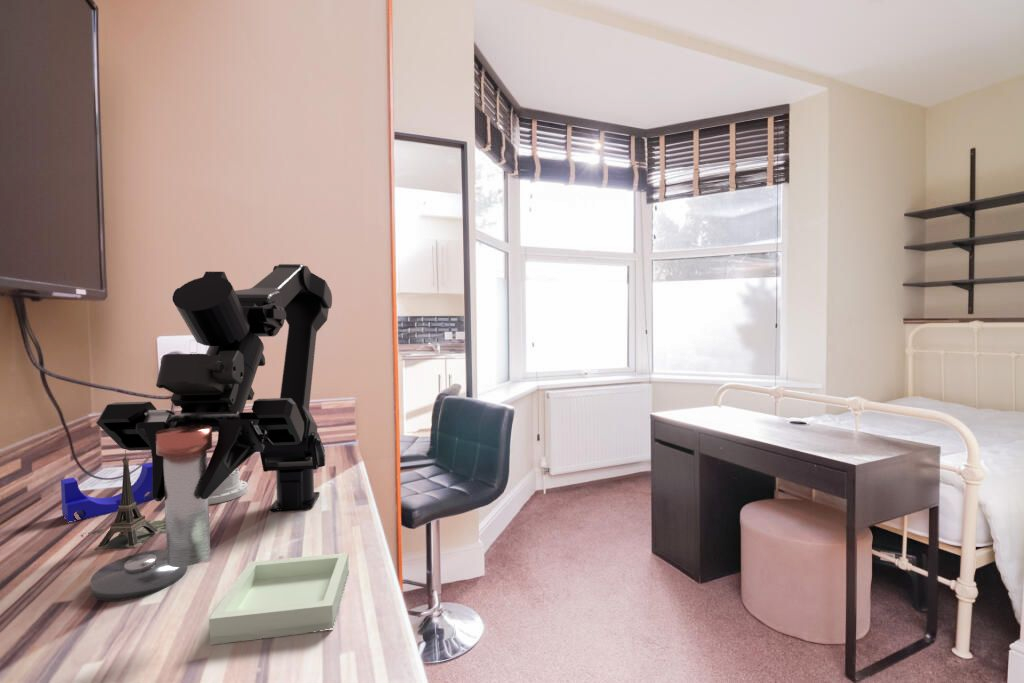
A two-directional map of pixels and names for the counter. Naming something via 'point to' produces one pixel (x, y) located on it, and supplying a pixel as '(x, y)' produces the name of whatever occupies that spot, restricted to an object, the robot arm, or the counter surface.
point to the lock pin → (185, 492)
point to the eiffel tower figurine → (129, 521)
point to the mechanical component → (229, 489)
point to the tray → (281, 599)
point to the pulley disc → (134, 576)
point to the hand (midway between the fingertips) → (179, 498)
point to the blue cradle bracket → (99, 506)
